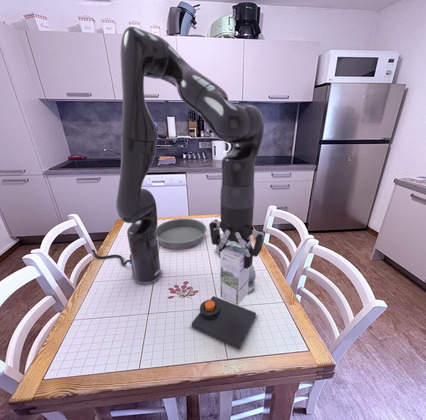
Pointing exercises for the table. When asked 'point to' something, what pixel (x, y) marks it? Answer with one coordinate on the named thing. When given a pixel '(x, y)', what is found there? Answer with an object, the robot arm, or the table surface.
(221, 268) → the syrup box
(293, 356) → the table surface
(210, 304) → the button
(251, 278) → the ceramic mug
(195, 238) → the cake pan
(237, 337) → the black button base
